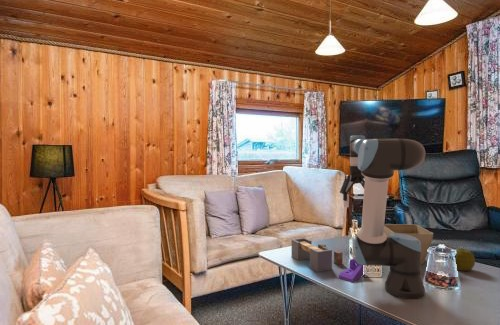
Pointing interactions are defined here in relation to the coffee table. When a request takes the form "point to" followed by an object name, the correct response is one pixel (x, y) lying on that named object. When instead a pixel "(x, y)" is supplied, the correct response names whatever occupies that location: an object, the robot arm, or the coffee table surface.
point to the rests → (337, 255)
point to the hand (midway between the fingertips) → (356, 206)
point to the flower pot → (414, 231)
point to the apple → (464, 260)
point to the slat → (308, 247)
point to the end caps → (312, 255)
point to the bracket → (352, 271)
